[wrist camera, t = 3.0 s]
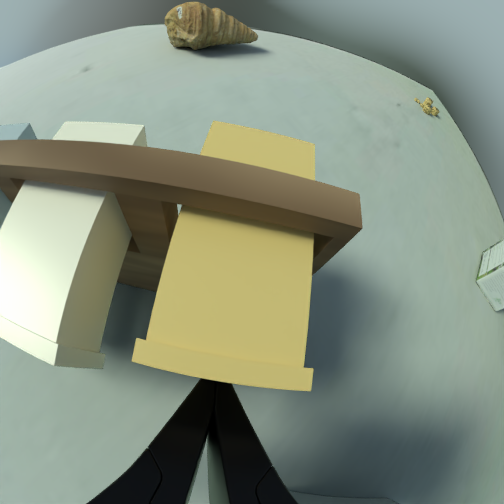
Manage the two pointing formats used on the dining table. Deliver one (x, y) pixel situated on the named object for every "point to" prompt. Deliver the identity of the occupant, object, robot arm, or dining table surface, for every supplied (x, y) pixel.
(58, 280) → the middle button
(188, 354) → the right button
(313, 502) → the card
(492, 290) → the syrup box
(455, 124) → the dining table surface
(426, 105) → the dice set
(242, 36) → the seashell
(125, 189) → the button board
